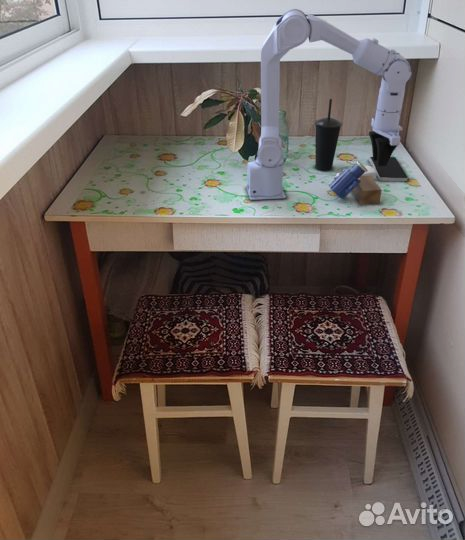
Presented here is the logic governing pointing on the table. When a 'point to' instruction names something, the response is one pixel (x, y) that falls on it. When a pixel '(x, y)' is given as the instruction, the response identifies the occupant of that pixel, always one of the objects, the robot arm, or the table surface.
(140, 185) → the table surface
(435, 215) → the table surface
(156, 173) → the table surface
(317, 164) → the drinking cup
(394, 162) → the smartphone
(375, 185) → the oak block
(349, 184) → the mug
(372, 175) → the eye dropper bottle
